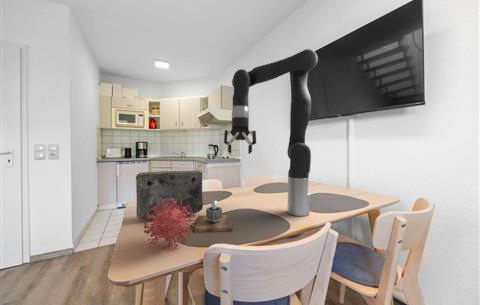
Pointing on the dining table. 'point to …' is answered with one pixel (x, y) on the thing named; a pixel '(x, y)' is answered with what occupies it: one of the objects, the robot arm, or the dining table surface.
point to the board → (205, 226)
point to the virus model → (169, 223)
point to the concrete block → (168, 191)
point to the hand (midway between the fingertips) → (239, 153)
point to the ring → (214, 213)
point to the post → (214, 208)
